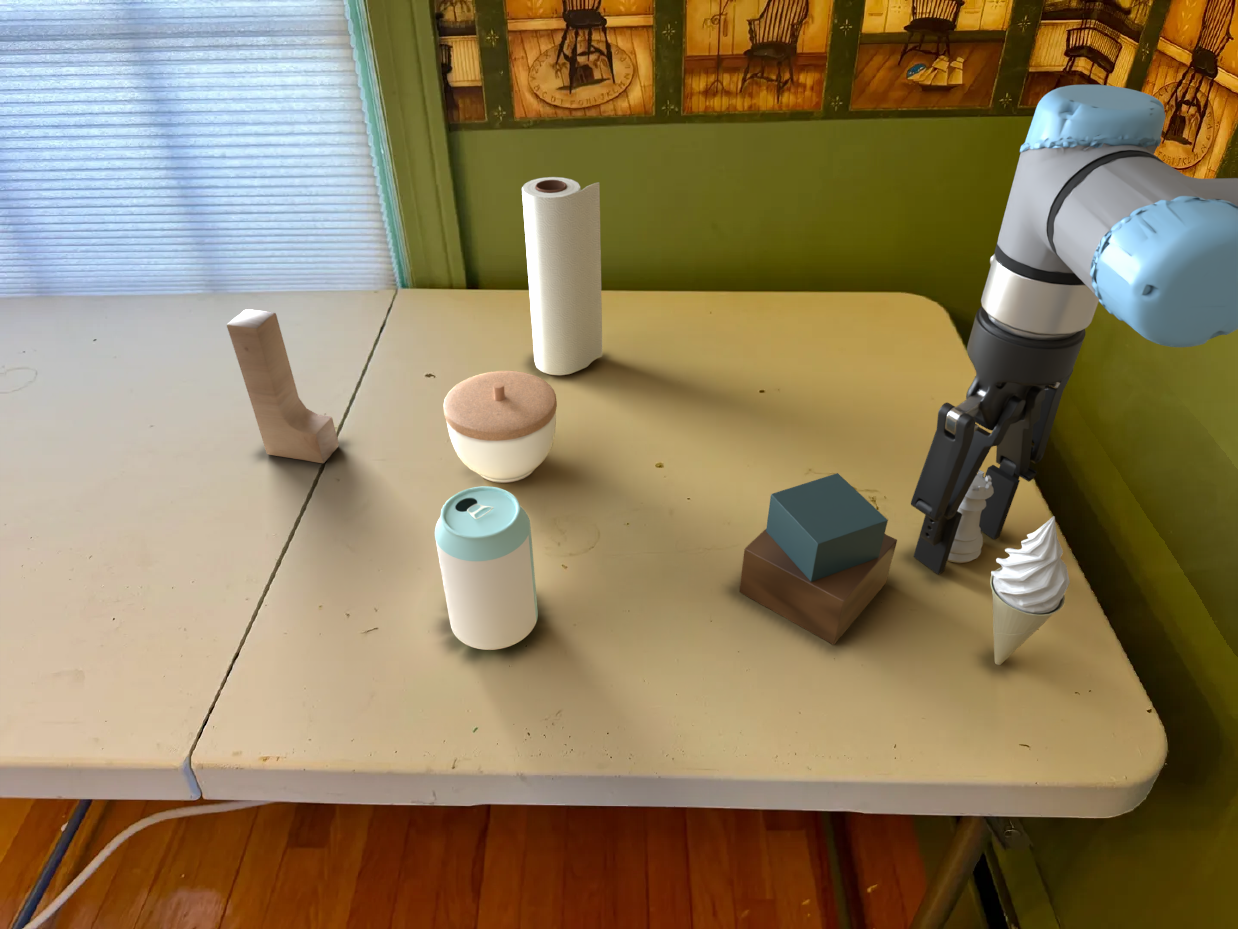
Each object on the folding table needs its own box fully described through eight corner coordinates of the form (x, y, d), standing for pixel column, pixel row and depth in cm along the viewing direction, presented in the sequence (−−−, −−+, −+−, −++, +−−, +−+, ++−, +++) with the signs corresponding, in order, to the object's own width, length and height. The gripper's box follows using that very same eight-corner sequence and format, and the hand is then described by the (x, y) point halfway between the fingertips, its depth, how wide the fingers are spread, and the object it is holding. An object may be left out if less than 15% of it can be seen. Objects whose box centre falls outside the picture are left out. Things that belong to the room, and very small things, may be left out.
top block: (878, 557, 70) (888, 520, 67) (810, 582, 67) (817, 544, 65) (830, 509, 74) (837, 472, 72) (765, 531, 72) (770, 493, 70)
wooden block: (266, 454, 89) (224, 324, 80) (283, 436, 91) (245, 307, 82) (323, 464, 88) (289, 332, 78) (340, 445, 90) (308, 315, 81)
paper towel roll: (526, 371, 102) (511, 191, 89) (547, 346, 106) (536, 171, 93) (583, 383, 100) (576, 200, 87) (602, 357, 104) (599, 179, 91)
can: (443, 654, 68) (421, 541, 61) (460, 589, 74) (442, 478, 67) (532, 657, 68) (521, 544, 61) (543, 591, 74) (534, 481, 66)
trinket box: (439, 493, 84) (426, 413, 78) (468, 429, 92) (457, 352, 87) (549, 502, 83) (544, 421, 77) (567, 436, 91) (564, 359, 86)
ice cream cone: (960, 633, 70) (1010, 488, 61) (1027, 643, 69) (1088, 497, 60) (966, 683, 66) (1022, 536, 57) (1037, 694, 65) (1105, 546, 56)
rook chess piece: (973, 533, 79) (997, 463, 74) (985, 567, 76) (1010, 496, 71) (923, 529, 80) (943, 460, 75) (932, 564, 76) (954, 493, 71)
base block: (886, 583, 74) (897, 539, 71) (833, 645, 69) (843, 601, 66) (794, 537, 79) (801, 494, 76) (739, 592, 74) (743, 548, 70)
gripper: (1066, 263, 70) (991, 484, 85) (899, 333, 61) (847, 567, 76) (1156, 299, 66) (1061, 526, 80) (989, 380, 57) (915, 620, 71)
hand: (957, 546), depth 78 cm, fingers open, 7 cm apart
